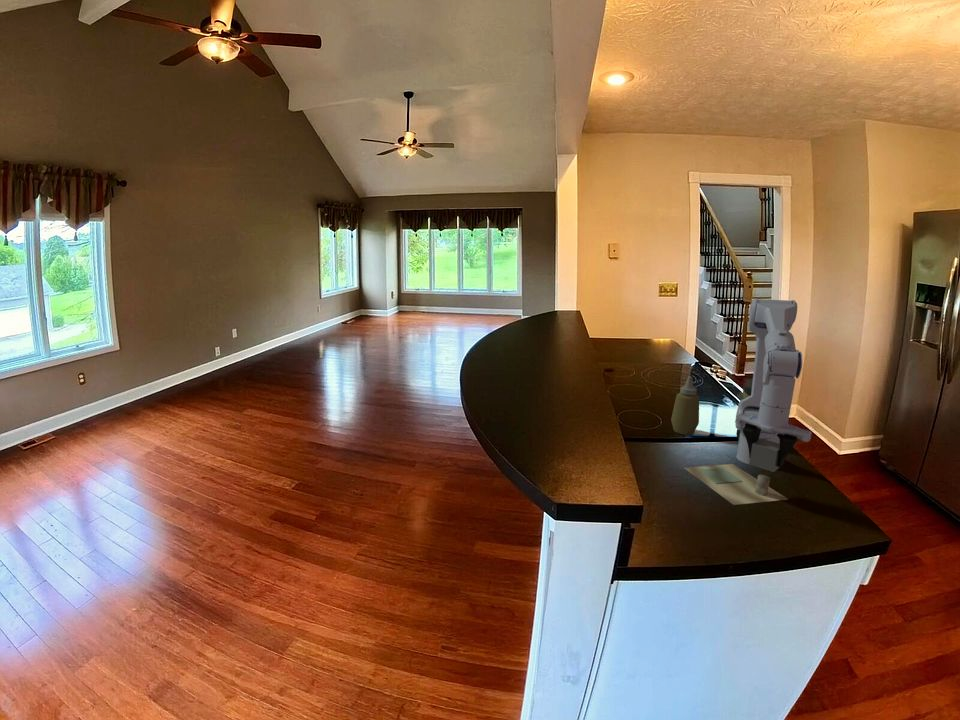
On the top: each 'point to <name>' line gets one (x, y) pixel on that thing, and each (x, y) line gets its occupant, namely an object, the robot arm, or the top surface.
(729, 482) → the board
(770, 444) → the grey matte cube
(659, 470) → the top surface
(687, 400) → the squeeze bottle
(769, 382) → the robot arm
